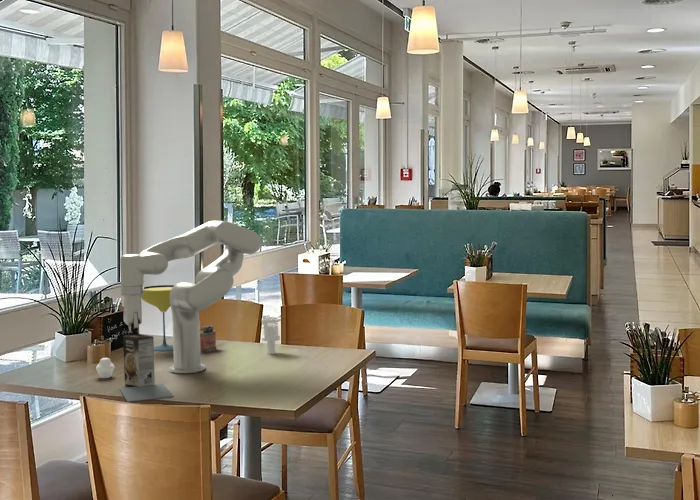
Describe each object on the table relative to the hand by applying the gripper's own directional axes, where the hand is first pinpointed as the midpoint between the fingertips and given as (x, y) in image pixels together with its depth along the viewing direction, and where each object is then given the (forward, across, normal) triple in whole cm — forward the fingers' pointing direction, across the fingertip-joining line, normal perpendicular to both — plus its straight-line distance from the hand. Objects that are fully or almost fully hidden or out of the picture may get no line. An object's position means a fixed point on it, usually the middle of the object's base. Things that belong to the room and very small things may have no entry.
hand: (134, 343), depth 262 cm
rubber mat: (+12, +21, 0) cm, 24 cm away
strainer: (+12, -18, +55) cm, 59 cm away
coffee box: (+12, +9, 0) cm, 15 cm away
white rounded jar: (+12, -7, -9) cm, 17 cm away
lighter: (+12, -35, +34) cm, 50 cm away
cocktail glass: (+12, -47, +19) cm, 52 cm away
